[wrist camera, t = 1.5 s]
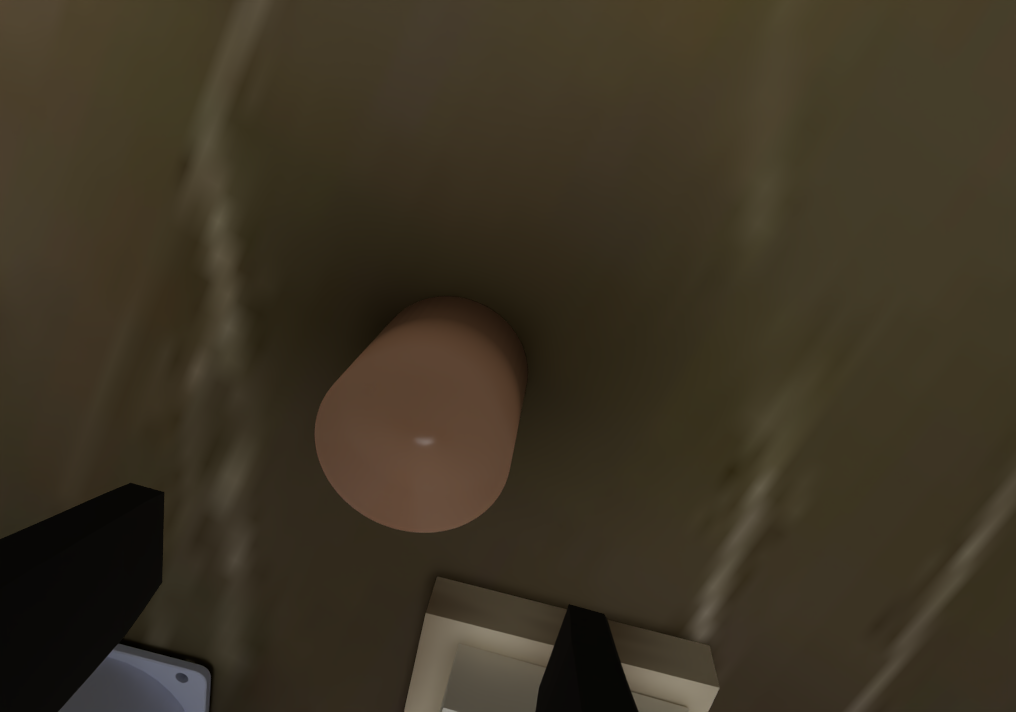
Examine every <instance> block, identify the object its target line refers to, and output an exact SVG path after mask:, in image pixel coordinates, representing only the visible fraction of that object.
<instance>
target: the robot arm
mask: <svg viewBox="0 0 1016 712" xmlns="http://www.w3.org/2000/svg"><path fill="white" fill-rule="evenodd" d="M163 522H164V492H161V491H158V490H154V489H151V488H147V487H143V486H140V485H136V484H133V483H129V484H127V485H124V486H122V487H119V488H117V489H115V490H112V491H110V492H107V493H105V494H103V495H100V496H98V497H96V498H94V499H91V500H89V501H87V502H85V503H82V504H80V505H78V506H75V507H73V508H71V509H69V510H66V511H64V512H62V513H60V514H57V515H55V516H53V517H51V518H48V519H46V520H44V521H41V522H39V523H37V524H35V525H32V526H30V527H28V528H25V529H23V530H21V531H18V532H16V533H14V534H11V535H9V536H7V537H4V538H2V539H0V712H209V702H210V684H211V675H210V672H209V670H208V669H207V668H206V667H204V666H202V665H199V664H195V663H191V662H188V661H184V660H180V659H176V658H172V657H168V656H165V655H161V654H157V653H153V652H149V651H145V650H142V649H138V648H134V647H130V646H126V645H122V644H118V643H119V642H120V641H121V640H122V639H123V637H124V636H125V635H126V633H127V632H128V631H129V629H130V628H131V627H132V625H133V624H134V622H135V621H136V620H137V618H138V617H139V615H140V614H141V613H142V611H143V610H144V608H145V607H146V605H147V604H148V602H149V601H150V599H151V598H152V596H153V595H154V593H155V592H156V591H157V589H158V588H159V586H160V585H161V583H162V563H163ZM535 712H639V711H638V709H637V706H636V703H635V701H634V698H633V695H632V693H631V690H630V687H629V684H628V681H627V679H626V676H625V673H624V670H623V667H622V664H621V661H620V658H619V655H618V652H617V649H616V646H615V643H614V640H613V636H612V633H611V630H610V626H609V623H608V620H607V618H606V617H605V615H604V614H602V613H598V612H595V611H591V610H587V609H584V608H580V607H577V606H573V605H569V606H568V608H567V611H566V614H565V617H564V619H563V622H562V625H561V628H560V631H559V633H558V636H557V639H556V642H555V644H554V647H553V650H552V653H551V656H550V658H549V661H548V664H547V667H546V669H545V672H544V675H543V678H542V681H541V683H540V686H539V690H538V697H537V704H536V711H535Z"/></svg>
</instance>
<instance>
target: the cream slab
mask: <svg viewBox="0 0 1016 712" xmlns="http://www.w3.org/2000/svg"><path fill="white" fill-rule="evenodd" d="M545 669H546V668H545V667H541V666H538V665H534V664H531V663H527V662H524V661H520V660H517V659H513V658H510V657H506V656H502V655H499V654H495V653H492V652H488V651H485V650H481V649H478V648H474V647H471V646H467V645H464V644H460V643H459V644H458V648H457V651H456V655H455V658H454V662H453V665H452V669H451V672H450V676H449V679H448V683H447V686H446V690H445V693H444V696H443V700H442V703H441V707H440V710H439V712H535V711H536V704H537V697H538V690H539V686H540V683H541V681H542V678H543V675H544V672H545ZM631 693H632V695H633V698H634V701H635V703H636V706H637V709H638V711H639V712H689V708H687V707H683V706H680V705H676V704H673V703H669V702H666V701H662V700H658V699H655V698H651V697H648V696H644V695H641V694H637V693H634V692H631Z"/></svg>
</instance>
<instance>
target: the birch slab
mask: <svg viewBox="0 0 1016 712" xmlns="http://www.w3.org/2000/svg"><path fill="white" fill-rule="evenodd" d="M566 611H567V609H564V608H560V607H556V606H552V605H548V604H544V603H540V602H536V601H532V600H528V599H524V598H520V597H516V596H513V595H509V594H505V593H501V592H497V591H493V590H489V589H485V588H481V587H477V586H473V585H469V584H465V583H461V582H458V581H454V580H450V579H446V578H442V577H438V576H437V578H436V582H435V585H434V588H433V591H432V595H431V598H430V601H429V604H428V607H427V611H426V614H425V619H424V623H423V628H422V632H421V637H420V641H419V646H418V651H417V655H416V660H415V664H414V669H413V673H412V678H411V682H410V687H409V692H408V696H407V701H406V705H405V710H404V712H439V710H440V707H441V703H442V700H443V696H444V693H445V690H446V686H447V683H448V679H449V676H450V672H451V669H452V665H453V662H454V658H455V655H456V651H457V648H458V644H459V643H460V644H464V645H467V646H471V647H474V648H478V649H481V650H485V651H488V652H492V653H495V654H499V655H502V656H506V657H510V658H513V659H517V660H520V661H524V662H527V663H531V664H534V665H538V666H541V667H545V668H546V667H547V664H548V661H549V658H550V656H551V653H552V650H553V647H554V644H555V642H556V639H557V636H558V633H559V631H560V628H561V625H562V622H563V619H564V617H565V614H566ZM608 623H609V626H610V630H611V633H612V636H613V640H614V643H615V646H616V649H617V652H618V655H619V658H620V661H621V664H622V667H623V670H624V673H625V676H626V679H627V681H628V684H629V687H630V690H631V692H634V693H637V694H641V695H644V696H648V697H651V698H655V699H658V700H662V701H666V702H669V703H673V704H676V705H680V706H683V707H687V708H689V712H708V711H709V709H710V707H711V705H712V703H713V700H714V698H715V696H716V694H717V692H718V690H719V683H718V679H717V675H716V671H715V666H714V662H713V658H712V654H711V650H710V646H709V645H705V644H701V643H697V642H693V641H689V640H686V639H682V638H678V637H674V636H670V635H666V634H662V633H658V632H654V631H650V630H646V629H642V628H638V627H634V626H630V625H627V624H623V623H619V622H615V621H611V620H608Z"/></svg>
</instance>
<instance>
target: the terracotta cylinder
mask: <svg viewBox="0 0 1016 712" xmlns="http://www.w3.org/2000/svg"><path fill="white" fill-rule="evenodd" d="M527 381H528V366H527V359H526V355H525V351H524V349H523V346H522V344H521V342H520V340H519V338H518V336H517V334H516V333H515V332H514V330H513V329H512V328H511V326H510V325H509V324H508V323H507V322H506V321H505V320H504V319H503V318H502V317H501V316H500V315H498V314H497V313H496V312H495V311H493V310H491V309H490V308H488V307H487V306H485V305H482V304H480V303H478V302H476V301H473V300H469V299H466V298H461V297H454V296H440V297H432V298H427V299H424V300H421V301H418V302H416V303H414V304H412V305H410V306H408V307H406V308H405V309H404V310H402V311H401V312H399V313H398V314H397V315H396V316H395V317H394V318H393V319H392V320H391V321H390V323H389V324H388V325H387V326H386V327H385V328H384V329H383V330H382V331H381V332H380V334H379V335H378V336H377V337H376V338H375V339H374V340H373V341H372V342H371V343H370V345H369V346H368V347H367V348H366V349H365V350H364V351H363V352H362V353H361V354H360V356H359V357H358V358H357V359H356V360H355V361H354V362H353V363H352V364H351V365H350V367H349V368H348V369H347V370H346V371H345V372H344V373H343V374H342V375H341V376H340V378H339V379H338V380H337V381H336V382H335V383H334V384H333V385H332V387H331V388H330V389H329V391H328V392H327V393H326V395H325V397H324V399H323V401H322V402H321V405H320V408H319V410H318V413H317V418H316V423H315V445H316V451H317V455H318V459H319V462H320V464H321V467H322V469H323V471H324V473H325V475H326V477H327V479H328V481H329V482H330V483H331V485H332V486H333V488H334V489H335V490H336V492H337V493H338V494H339V495H340V496H341V497H342V498H343V499H344V500H345V501H346V502H347V503H348V504H349V505H350V506H351V507H353V508H354V509H355V510H357V511H358V512H360V513H361V514H362V515H364V516H366V517H368V518H369V519H371V520H373V521H375V522H377V523H380V524H382V525H384V526H387V527H391V528H394V529H397V530H402V531H407V532H417V533H433V532H440V531H446V530H450V529H454V528H457V527H459V526H462V525H464V524H467V523H469V522H470V521H472V520H474V519H476V518H477V517H479V516H480V515H481V514H482V513H484V512H485V511H486V510H487V509H488V508H489V507H490V506H491V505H492V504H493V503H494V502H495V500H496V499H497V498H498V496H499V495H500V493H501V491H502V490H503V488H504V486H505V484H506V481H507V478H508V475H509V471H510V466H511V461H512V456H513V451H514V446H515V441H516V436H517V431H518V426H519V421H520V416H521V411H522V406H523V401H524V396H525V391H526V386H527Z"/></svg>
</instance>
